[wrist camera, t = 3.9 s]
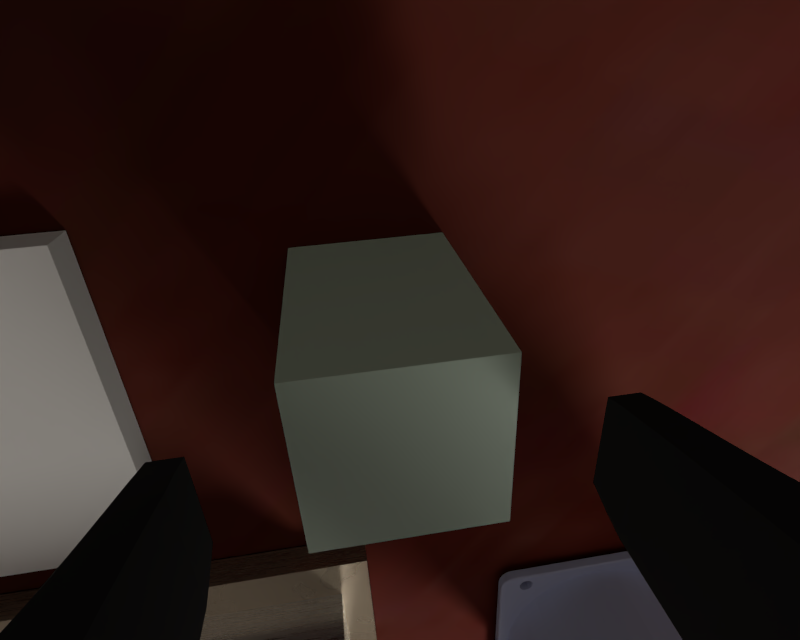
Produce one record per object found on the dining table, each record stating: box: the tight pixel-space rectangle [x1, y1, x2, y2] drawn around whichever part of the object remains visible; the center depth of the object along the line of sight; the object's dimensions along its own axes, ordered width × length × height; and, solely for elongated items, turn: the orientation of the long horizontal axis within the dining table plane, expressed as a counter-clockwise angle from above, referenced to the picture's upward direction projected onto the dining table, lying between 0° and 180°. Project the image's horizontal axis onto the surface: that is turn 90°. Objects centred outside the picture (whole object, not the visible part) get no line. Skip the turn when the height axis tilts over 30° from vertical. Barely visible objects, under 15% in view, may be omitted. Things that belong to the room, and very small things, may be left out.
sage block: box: [274, 232, 522, 553], centre depth 12 cm, size 4×4×6 cm
